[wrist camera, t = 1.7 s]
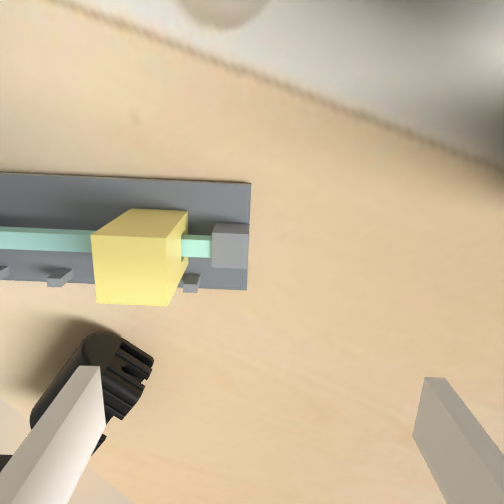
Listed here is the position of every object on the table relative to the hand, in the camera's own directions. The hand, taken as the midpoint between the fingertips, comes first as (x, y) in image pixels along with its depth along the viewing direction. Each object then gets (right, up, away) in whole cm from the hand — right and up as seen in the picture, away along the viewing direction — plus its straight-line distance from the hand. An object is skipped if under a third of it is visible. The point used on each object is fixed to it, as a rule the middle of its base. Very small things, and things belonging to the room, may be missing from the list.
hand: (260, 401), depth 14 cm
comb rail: (-15, +8, +21) cm, 27 cm away
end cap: (-16, -7, +26) cm, 31 cm away
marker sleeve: (-9, +7, +20) cm, 23 cm away
